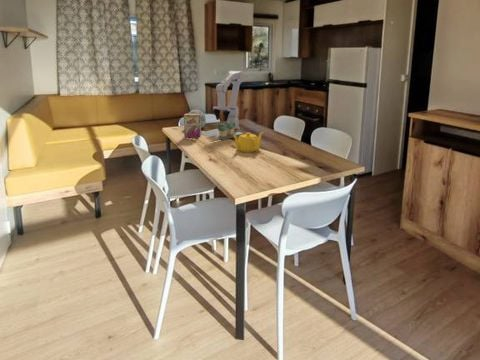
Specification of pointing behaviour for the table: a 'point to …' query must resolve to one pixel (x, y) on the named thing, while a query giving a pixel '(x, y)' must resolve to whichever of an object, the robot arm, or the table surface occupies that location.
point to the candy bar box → (192, 125)
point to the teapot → (248, 142)
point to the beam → (226, 126)
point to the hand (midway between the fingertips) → (221, 120)
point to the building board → (216, 134)
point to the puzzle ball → (201, 116)
